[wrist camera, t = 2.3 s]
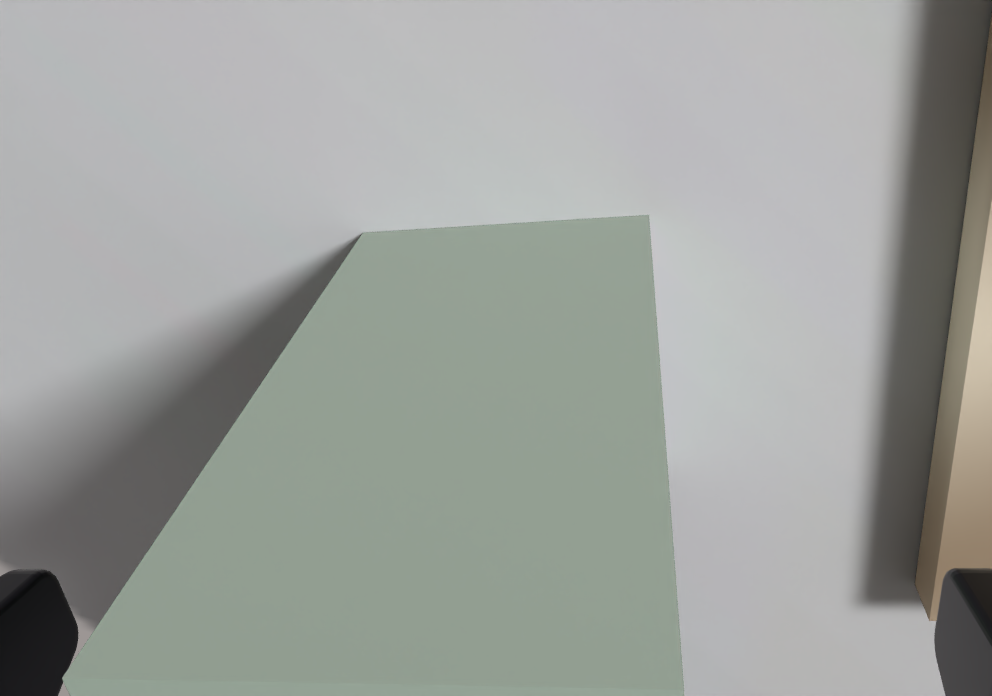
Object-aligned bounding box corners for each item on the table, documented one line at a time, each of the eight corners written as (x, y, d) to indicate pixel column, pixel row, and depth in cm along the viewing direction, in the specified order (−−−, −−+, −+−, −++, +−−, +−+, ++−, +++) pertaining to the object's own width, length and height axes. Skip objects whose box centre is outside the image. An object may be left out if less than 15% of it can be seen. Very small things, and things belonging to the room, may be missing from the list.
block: (657, 459, 14) (691, 1047, 7) (406, 464, 15) (215, 1010, 8) (648, 214, 12) (685, 689, 5) (363, 232, 13) (62, 677, 6)
